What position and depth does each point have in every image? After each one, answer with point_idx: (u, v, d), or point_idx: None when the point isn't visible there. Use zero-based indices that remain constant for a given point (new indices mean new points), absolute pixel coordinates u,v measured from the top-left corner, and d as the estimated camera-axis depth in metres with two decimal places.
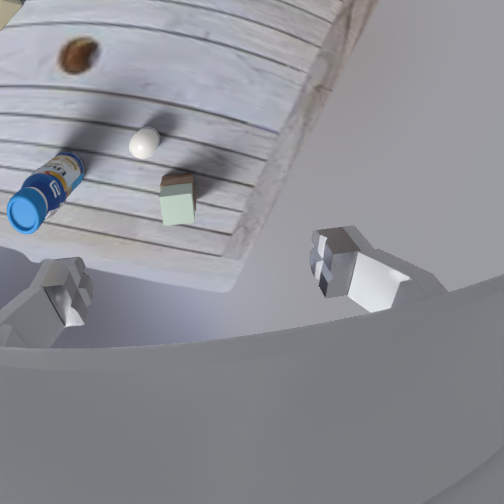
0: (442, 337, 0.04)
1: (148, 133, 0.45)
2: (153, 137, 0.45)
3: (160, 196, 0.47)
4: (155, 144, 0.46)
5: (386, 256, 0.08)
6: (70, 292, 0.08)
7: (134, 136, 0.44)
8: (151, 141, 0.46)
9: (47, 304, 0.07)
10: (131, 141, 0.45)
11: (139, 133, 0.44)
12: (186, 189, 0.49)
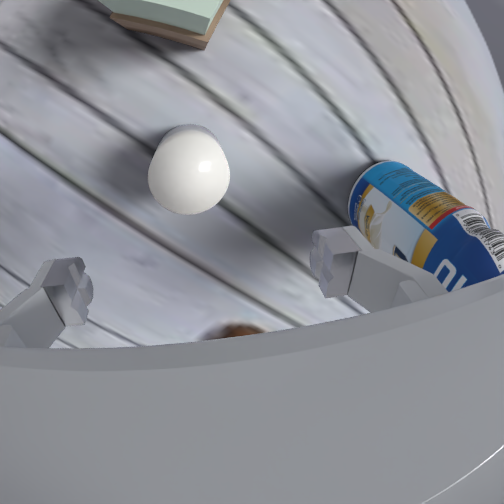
0: (442, 337, 0.04)
1: (160, 200, 0.17)
2: (151, 184, 0.17)
3: (204, 17, 0.09)
4: (154, 164, 0.16)
5: (386, 256, 0.08)
6: (70, 292, 0.08)
7: (198, 209, 0.18)
8: (161, 175, 0.17)
9: (47, 304, 0.07)
10: (212, 201, 0.18)
11: (182, 210, 0.18)
12: (115, 4, 0.08)
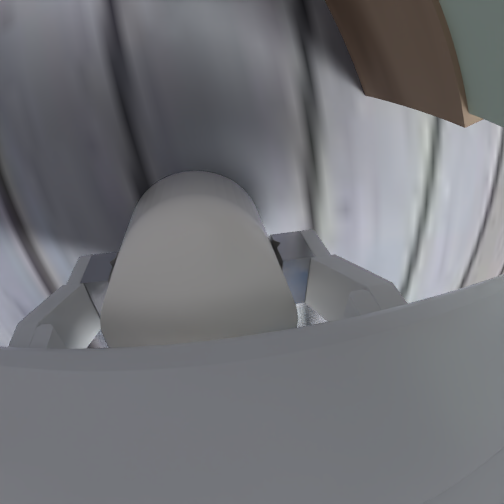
0: (442, 337, 0.04)
1: (110, 335, 0.07)
2: (111, 304, 0.06)
3: None
4: (149, 274, 0.06)
5: (341, 263, 0.08)
6: None
7: None
8: (146, 304, 0.06)
9: (87, 301, 0.08)
10: None
11: None
12: None
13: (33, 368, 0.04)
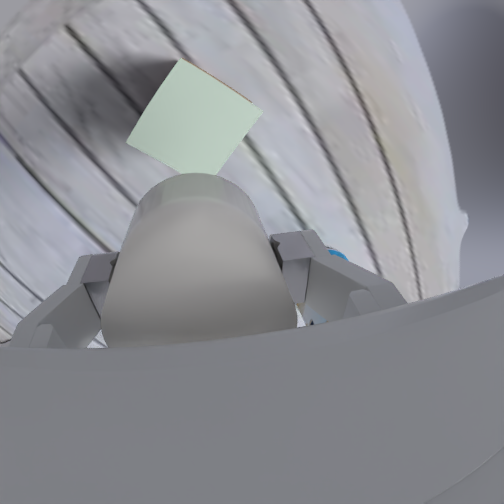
0: (442, 337, 0.04)
1: (110, 337, 0.07)
2: (112, 306, 0.06)
3: None
4: (150, 277, 0.06)
5: (341, 263, 0.08)
6: None
7: None
8: (146, 306, 0.06)
9: (87, 301, 0.08)
10: None
11: None
12: None
13: (33, 368, 0.04)
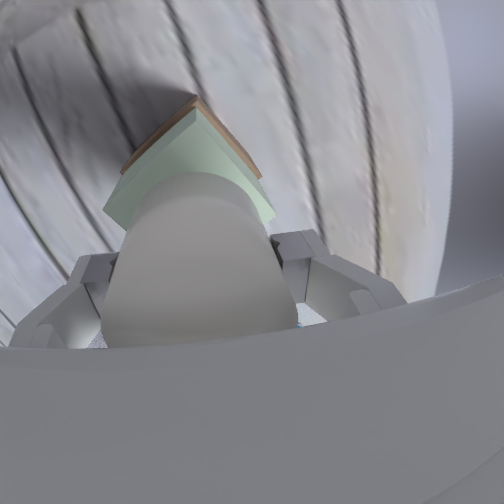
0: (442, 337, 0.04)
1: (110, 336, 0.07)
2: (112, 305, 0.06)
3: None
4: (150, 276, 0.06)
5: (341, 263, 0.08)
6: None
7: None
8: (146, 305, 0.06)
9: (87, 301, 0.08)
10: None
11: None
12: None
13: (33, 368, 0.04)
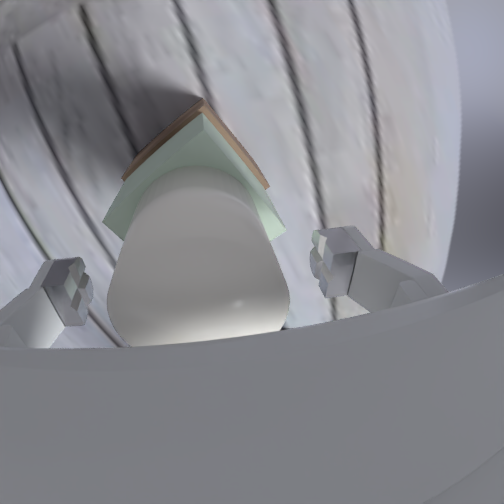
0: (442, 337, 0.04)
1: (115, 316, 0.07)
2: (118, 285, 0.07)
3: None
4: (153, 256, 0.06)
5: (386, 256, 0.08)
6: (70, 292, 0.08)
7: None
8: (149, 284, 0.07)
9: (47, 304, 0.07)
10: None
11: None
12: None
13: (33, 368, 0.04)
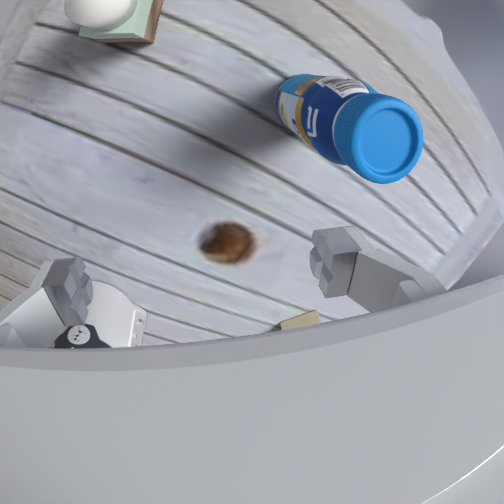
0: (442, 337, 0.04)
1: (70, 17, 0.13)
2: (66, 7, 0.12)
3: (131, 33, 0.19)
4: None
5: (386, 256, 0.08)
6: (70, 292, 0.08)
7: (98, 17, 0.14)
8: None
9: (47, 304, 0.07)
10: (109, 9, 0.13)
11: (86, 21, 0.14)
12: (93, 36, 0.19)
13: (33, 368, 0.04)
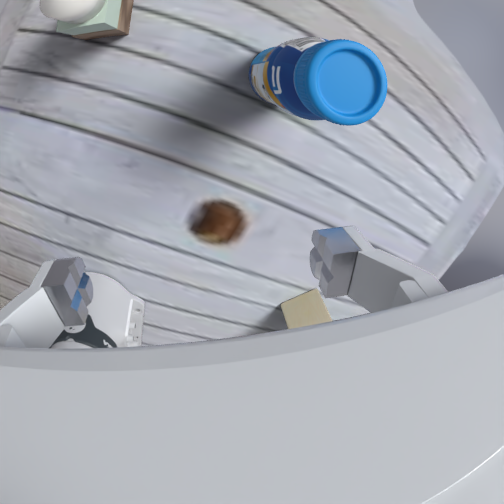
0: (442, 337, 0.04)
1: (46, 13, 0.13)
2: (41, 5, 0.12)
3: (103, 23, 0.18)
4: None
5: (386, 256, 0.08)
6: (70, 292, 0.08)
7: (70, 10, 0.13)
8: None
9: (47, 304, 0.07)
10: (79, 1, 0.13)
11: (59, 14, 0.13)
12: (70, 31, 0.19)
13: (33, 368, 0.04)
